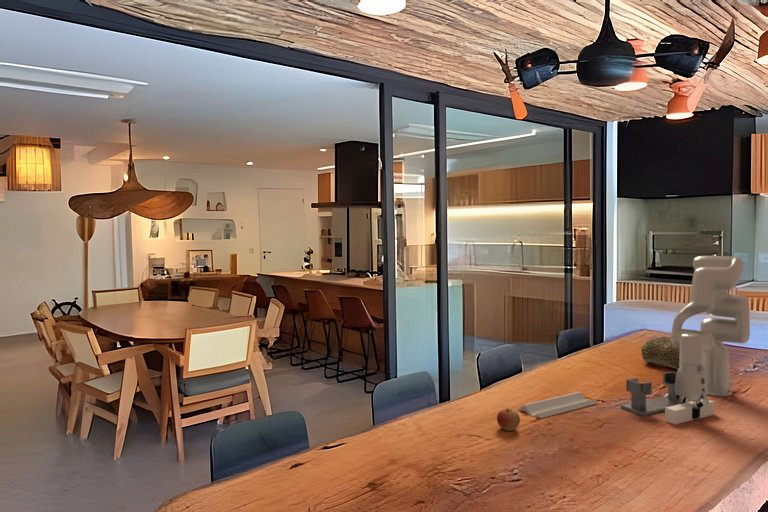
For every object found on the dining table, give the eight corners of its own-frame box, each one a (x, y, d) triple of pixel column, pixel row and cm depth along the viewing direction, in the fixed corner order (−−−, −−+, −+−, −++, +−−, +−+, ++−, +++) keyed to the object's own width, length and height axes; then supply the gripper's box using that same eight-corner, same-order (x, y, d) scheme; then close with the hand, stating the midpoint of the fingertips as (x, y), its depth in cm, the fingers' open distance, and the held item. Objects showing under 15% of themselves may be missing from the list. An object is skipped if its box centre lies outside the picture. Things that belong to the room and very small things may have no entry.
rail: (703, 411, 210) (704, 398, 210) (714, 414, 207) (714, 401, 206) (664, 421, 201) (665, 407, 200) (674, 424, 197) (675, 410, 197)
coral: (695, 368, 278) (697, 339, 277) (686, 374, 264) (689, 343, 263) (646, 359, 292) (648, 331, 292) (636, 364, 279) (638, 335, 278)
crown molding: (540, 420, 205) (540, 411, 204) (517, 411, 215) (517, 402, 215) (596, 405, 220) (596, 396, 220) (572, 398, 231) (572, 389, 230)
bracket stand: (670, 397, 227) (671, 370, 226) (693, 404, 218) (693, 376, 217) (620, 407, 215) (621, 378, 215) (642, 415, 206) (642, 385, 206)
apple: (507, 435, 189) (507, 412, 189) (492, 427, 196) (492, 405, 196) (524, 431, 193) (525, 408, 192) (509, 423, 200) (509, 402, 199)
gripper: (719, 371, 197) (718, 421, 198) (677, 361, 212) (676, 408, 213) (705, 373, 194) (704, 425, 195) (663, 363, 209) (662, 411, 210)
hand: (689, 415), depth 204 cm, fingers closed on rail, 4 cm apart
